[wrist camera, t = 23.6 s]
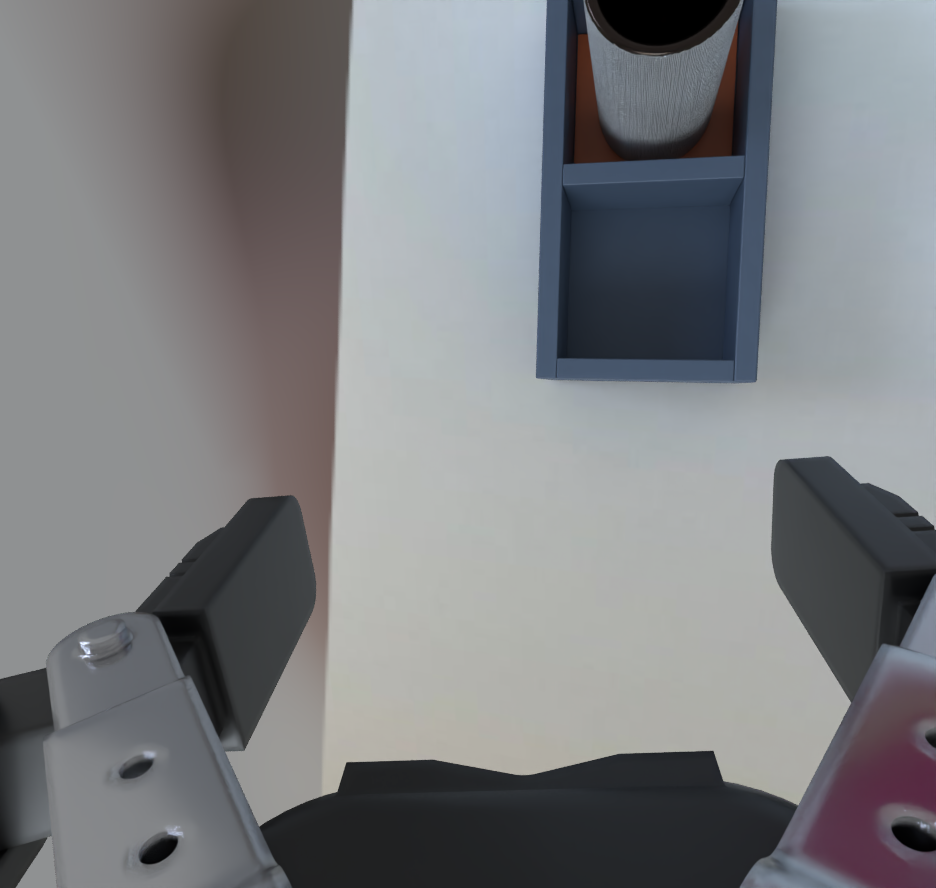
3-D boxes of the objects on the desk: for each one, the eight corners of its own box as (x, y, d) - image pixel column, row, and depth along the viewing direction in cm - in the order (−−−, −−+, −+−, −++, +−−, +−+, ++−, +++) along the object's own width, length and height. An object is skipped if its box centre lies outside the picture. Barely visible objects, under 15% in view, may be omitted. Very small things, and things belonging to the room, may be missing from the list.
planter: (577, 113, 30) (548, -22, 20) (661, 30, 29) (674, -155, 19) (648, 190, 30) (655, 91, 20) (736, 109, 29) (789, -39, 19)
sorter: (549, 379, 32) (535, 378, 28) (560, 24, 31) (547, -37, 27) (739, 383, 30) (756, 382, 26) (758, 6, 29) (781, -64, 25)
